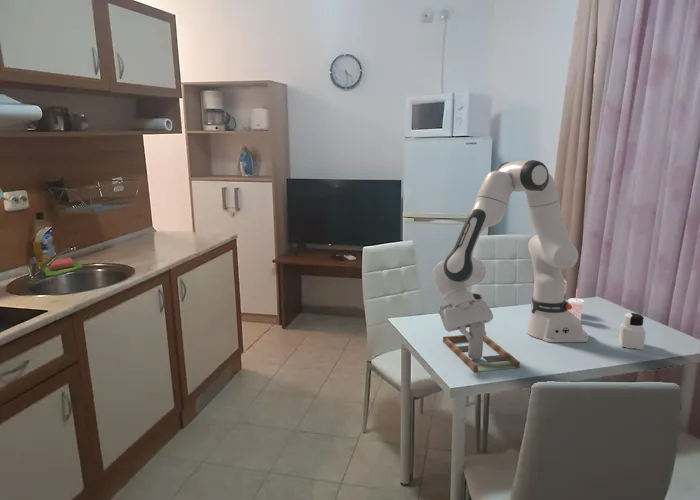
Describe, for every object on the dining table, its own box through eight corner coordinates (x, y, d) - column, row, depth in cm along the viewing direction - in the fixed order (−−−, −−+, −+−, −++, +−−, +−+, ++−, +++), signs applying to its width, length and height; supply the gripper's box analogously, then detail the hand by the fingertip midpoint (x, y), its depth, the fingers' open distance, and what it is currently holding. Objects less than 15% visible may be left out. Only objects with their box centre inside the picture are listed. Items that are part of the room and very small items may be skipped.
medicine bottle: (639, 342, 192) (643, 312, 189) (643, 350, 185) (647, 318, 183) (618, 340, 194) (621, 310, 192) (621, 347, 188) (625, 316, 185)
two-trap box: (442, 341, 194) (443, 336, 194) (482, 338, 197) (483, 333, 197) (474, 372, 168) (474, 366, 168) (519, 367, 171) (520, 362, 171)
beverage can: (466, 354, 180) (467, 322, 177) (479, 353, 180) (480, 321, 178) (470, 360, 175) (472, 327, 173) (484, 359, 176) (486, 326, 173)
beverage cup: (570, 317, 221) (572, 285, 218) (584, 320, 216) (587, 288, 213) (564, 320, 216) (566, 288, 213) (578, 324, 212) (581, 291, 209)
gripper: (440, 302, 174) (458, 339, 168) (485, 293, 184) (503, 327, 178) (432, 311, 179) (449, 347, 173) (475, 302, 189) (493, 335, 183)
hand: (477, 337), depth 176 cm, fingers closed on beverage can, 5 cm apart
